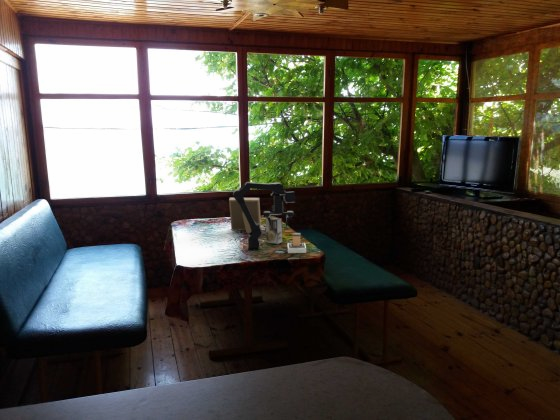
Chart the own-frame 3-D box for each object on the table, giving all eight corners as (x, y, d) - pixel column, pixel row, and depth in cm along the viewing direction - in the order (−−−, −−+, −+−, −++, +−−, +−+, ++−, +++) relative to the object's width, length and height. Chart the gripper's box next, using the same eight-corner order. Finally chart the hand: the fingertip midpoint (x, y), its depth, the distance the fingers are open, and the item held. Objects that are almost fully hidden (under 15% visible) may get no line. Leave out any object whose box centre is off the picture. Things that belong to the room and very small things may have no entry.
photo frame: (232, 228, 321) (231, 196, 316) (260, 229, 318) (260, 196, 314) (228, 233, 306) (227, 199, 301) (258, 234, 304) (257, 199, 299)
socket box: (288, 253, 254) (287, 247, 254) (287, 247, 266) (287, 242, 265) (306, 252, 254) (306, 247, 254) (304, 247, 266) (304, 242, 266)
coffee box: (282, 242, 280) (282, 218, 277) (277, 244, 275) (277, 220, 272) (271, 240, 285) (270, 217, 282) (265, 242, 279) (265, 218, 277)
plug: (292, 250, 258) (292, 234, 256) (293, 248, 262) (293, 232, 261) (300, 250, 258) (300, 234, 256) (300, 248, 262) (300, 232, 260)
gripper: (293, 200, 270) (293, 224, 273) (263, 201, 270) (264, 224, 273) (293, 203, 259) (293, 228, 262) (263, 203, 259) (263, 228, 262)
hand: (278, 227), depth 265 cm, fingers open, 9 cm apart
